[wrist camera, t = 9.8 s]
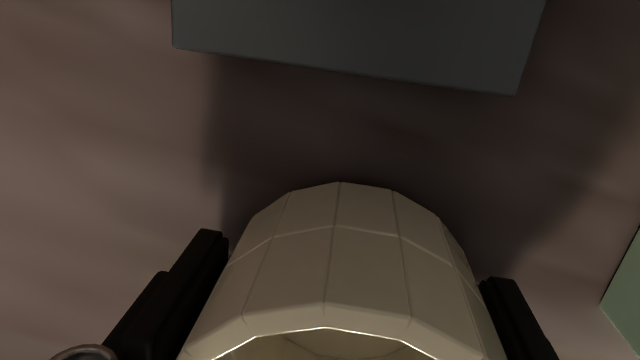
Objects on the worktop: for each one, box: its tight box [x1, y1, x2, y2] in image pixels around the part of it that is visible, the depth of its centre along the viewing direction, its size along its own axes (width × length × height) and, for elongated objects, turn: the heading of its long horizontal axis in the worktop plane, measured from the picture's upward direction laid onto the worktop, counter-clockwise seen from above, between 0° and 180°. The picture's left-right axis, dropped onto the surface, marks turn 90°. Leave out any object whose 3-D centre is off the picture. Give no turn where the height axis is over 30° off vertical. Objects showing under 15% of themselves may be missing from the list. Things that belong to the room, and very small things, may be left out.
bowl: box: [174, 182, 508, 360], centre depth 9 cm, size 7×7×5 cm
